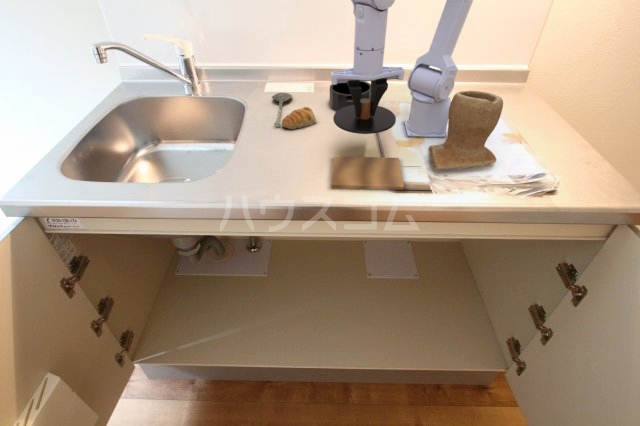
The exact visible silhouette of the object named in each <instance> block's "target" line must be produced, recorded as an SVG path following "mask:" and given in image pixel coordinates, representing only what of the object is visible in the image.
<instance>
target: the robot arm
mask: <svg viewBox="0 0 640 426" xmlns="http://www.w3.org/2000/svg"><path fill="white" fill-rule="evenodd" d="M350 1H351V3H352V6H353V7H352V8H353V15H354V40H353V41H354V42H353V43H354V44H353V67H351V68H347V69H342V70H335V71H334V70H333V71H330V83H331V85H336V84H337V83H347V85H348V87H349V90H350V92H351V95H352V99H353V103H354V109H355V115H356V117H360V101H361V93H362V88H361V84H360V82H363V81H365V82H370V84H371V99H370V100H371V101H372V103H371V116H374V115H375V112H376V109H377V106H379V104H380V102H381V100H382V98H383V96H384V95H385V93H386V91H387V90H388V88H389V83H388V81H391V80H397V81H404V78H405V72H406V70H405V68H403V67H402V66H384V57H385V47H386V38H387V37H386V36H387V27H388V17H389V16H388V15H389V8H391V7H392V6H393V5H394V3H395V2H396V0H350ZM473 2H474V0H446V2H445V3H444V7H443V9H442V12H441V15H440V18H439V21H438V23H437V26H436V29H435V32H434V35H433V38H432V41H431V43H430V47H429V48H428V51H427V52H425V53H423V54H422V55H420V56H418V57H417V58H416V61H415V63H414V66H413V68H412V69H411V70H410V72H409V74H408V76H407V83H406V84H407V88H408V90H409V91H410V95H411V96H412V97H411V103H410V109H409V115H408V120H405V121H404V127H405V131H406V136H407V137H423V138H425V137H427V138H431V137H432V138H442V137H443V138H445V137H446V131H447V128H448V121H449V117H448V113H449V107H450V103H451V101H452V99H451V97H449V96H450V95H451V93H452V91H453V89H454V87H455V81H456V76H457V73H458V70H459V69H458V67H457V65H456V63H455V61H454V60H453V57H452V56H453V53H454V51H455V48H456V45H457V43H458V40H459V38H460V36H461V33H462V30H463V28H464V26H465V23H466V20H467V18H468V15H469V13H470V10H471V7H472V5H473ZM432 67H433V68H432ZM435 68H437V69H435Z"/></svg>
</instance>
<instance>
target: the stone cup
mask: <svg viewBox="0 0 640 426" xmlns="http://www.w3.org/2000/svg"><path fill="white" fill-rule="evenodd" d="M503 108H504V100H503V98H502V97H501V96H499V95H497V94H495V93H491V92H487V91H480V90H461V91H458V92H455V94H454V95H453V97H452V99H451V103H450V107H449V113H448V117H449V119H448V123H447V137H446V139H445V141H444V142H443V143H440V144H433V145H429V146H428V152H429V153H428V154H429V155H428V157H429V161H430V163H431V166H432V168H433V169H434V170H452V169H465V168H466V169H467V168H475V167H483V166H489V165H493V164H495V163H496V162H497V157H496V156H495V154H494V153H493V151H492V150H491V149H489V148H487V147H486V146H485V145H486V142H487V141H488V139H489V137H490V136H491V134H492V133H493V131H495V129H496V127H497V125H498V123H499V121H500V119H501V115H502V112H503Z"/></svg>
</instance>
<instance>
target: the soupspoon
mask: <svg viewBox="0 0 640 426" xmlns="http://www.w3.org/2000/svg"><path fill="white" fill-rule="evenodd" d="M271 98H272V99H273V100H275V101H277V102H279V103H278V111H277V117H276V120H275V122H274V123H273V126H274V127H276V128H280V127H281V126H282V123H281V122H280V121H281V114H282V107H283V103H284V102H287V101H289V100H290V99H291V98H293V95H292V94H290V93H288V92H277V93H275V94H273V95H272V96H271Z"/></svg>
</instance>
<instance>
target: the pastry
mask: <svg viewBox="0 0 640 426" xmlns="http://www.w3.org/2000/svg"><path fill="white" fill-rule="evenodd" d="M316 121H317V118H316V116H315V113H314V110H313V109H312V108H311V107H309V106H303V107H301V108H298V109H294V110H292V111H291V112H290V113H289V114H287V115H286V116H285V117H284V118H282V120H281V127H283V128H286V129H289V130H296V129H301V128H306V127H308V126H312V125H314V124H315V123H316Z"/></svg>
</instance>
